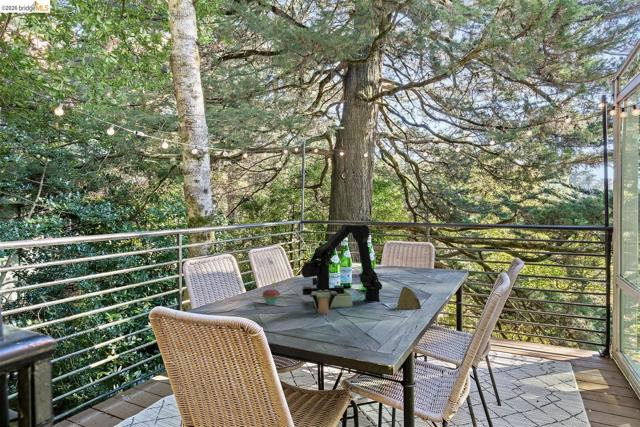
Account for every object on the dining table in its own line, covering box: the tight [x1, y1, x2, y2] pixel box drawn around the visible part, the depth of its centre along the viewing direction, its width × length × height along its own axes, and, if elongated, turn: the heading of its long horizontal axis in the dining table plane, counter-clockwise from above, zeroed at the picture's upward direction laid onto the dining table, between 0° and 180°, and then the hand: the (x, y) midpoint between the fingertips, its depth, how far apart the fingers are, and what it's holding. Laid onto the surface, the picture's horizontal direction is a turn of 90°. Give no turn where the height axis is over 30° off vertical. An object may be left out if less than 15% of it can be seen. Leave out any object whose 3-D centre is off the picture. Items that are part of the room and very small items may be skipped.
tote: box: [312, 289, 353, 309], centre depth 200 cm, size 18×14×5 cm
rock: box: [396, 286, 422, 310], centre depth 191 cm, size 11×9×10 cm
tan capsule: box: [317, 296, 330, 315], centre depth 186 cm, size 5×5×7 cm
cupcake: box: [261, 281, 281, 306], centre depth 201 cm, size 9×8×12 cm
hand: (323, 308), depth 186 cm, fingers closed on tan capsule, 5 cm apart
